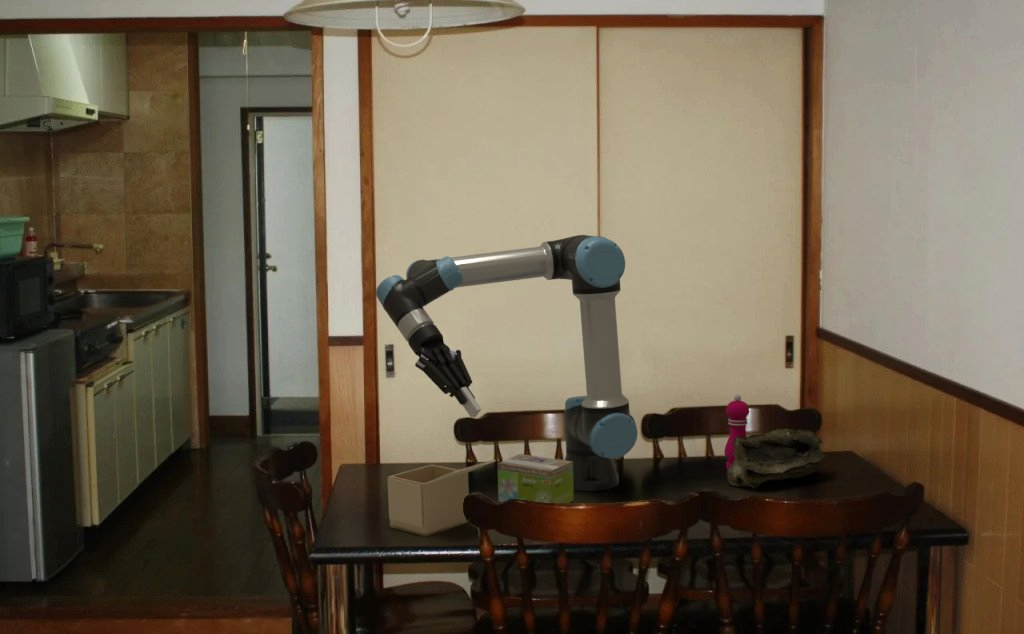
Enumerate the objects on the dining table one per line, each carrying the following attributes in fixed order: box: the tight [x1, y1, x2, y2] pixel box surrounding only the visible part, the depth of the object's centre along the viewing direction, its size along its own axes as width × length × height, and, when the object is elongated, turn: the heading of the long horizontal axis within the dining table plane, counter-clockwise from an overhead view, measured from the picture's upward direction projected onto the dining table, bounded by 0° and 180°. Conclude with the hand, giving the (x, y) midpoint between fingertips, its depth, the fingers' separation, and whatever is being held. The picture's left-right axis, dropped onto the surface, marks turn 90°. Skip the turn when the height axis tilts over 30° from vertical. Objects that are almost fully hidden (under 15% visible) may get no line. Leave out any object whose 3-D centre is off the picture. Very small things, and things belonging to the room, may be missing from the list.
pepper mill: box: [723, 394, 750, 470], centre depth 323 cm, size 7×7×20 cm
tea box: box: [497, 453, 575, 504], centre depth 279 cm, size 15×10×15 cm
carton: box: [386, 464, 470, 537], centre depth 281 cm, size 15×13×12 cm
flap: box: [426, 459, 497, 484], centre depth 272 cm, size 13×1×10 cm
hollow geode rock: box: [726, 426, 827, 489], centre depth 310 cm, size 28×13×15 cm
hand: (476, 413), depth 267 cm, fingers closed
